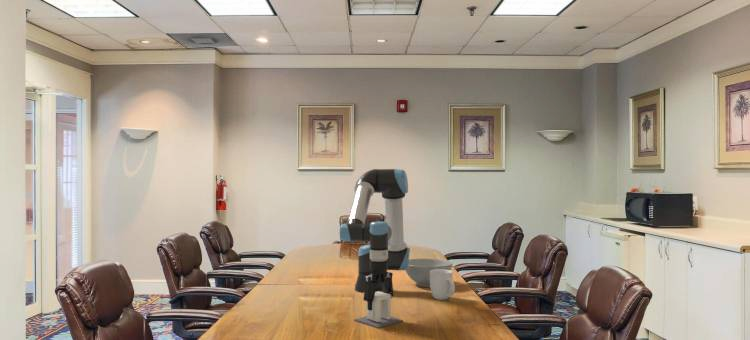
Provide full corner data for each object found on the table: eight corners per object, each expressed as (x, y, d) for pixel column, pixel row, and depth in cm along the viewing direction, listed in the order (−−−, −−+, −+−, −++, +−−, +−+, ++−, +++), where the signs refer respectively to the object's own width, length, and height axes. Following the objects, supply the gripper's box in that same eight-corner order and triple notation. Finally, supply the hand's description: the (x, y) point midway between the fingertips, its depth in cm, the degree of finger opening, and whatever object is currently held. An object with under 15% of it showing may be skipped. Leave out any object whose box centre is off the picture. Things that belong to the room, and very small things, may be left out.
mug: (462, 300, 243) (462, 273, 243) (445, 303, 237) (445, 275, 237) (442, 294, 256) (442, 268, 256) (424, 297, 250) (424, 270, 250)
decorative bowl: (394, 281, 286) (394, 260, 286) (436, 278, 297) (436, 257, 297) (417, 291, 261) (417, 268, 262) (462, 287, 272) (462, 264, 272)
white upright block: (378, 322, 204) (378, 297, 204) (366, 318, 209) (366, 293, 209) (390, 318, 209) (390, 294, 209) (378, 315, 214) (378, 291, 214)
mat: (354, 320, 209) (354, 319, 209) (379, 314, 218) (379, 313, 218) (377, 328, 199) (377, 326, 199) (402, 321, 208) (403, 320, 208)
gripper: (366, 263, 199) (366, 322, 199) (402, 258, 213) (402, 313, 213) (354, 261, 205) (353, 318, 204) (390, 256, 218) (389, 309, 218)
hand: (378, 316), depth 209 cm, fingers open, 7 cm apart
